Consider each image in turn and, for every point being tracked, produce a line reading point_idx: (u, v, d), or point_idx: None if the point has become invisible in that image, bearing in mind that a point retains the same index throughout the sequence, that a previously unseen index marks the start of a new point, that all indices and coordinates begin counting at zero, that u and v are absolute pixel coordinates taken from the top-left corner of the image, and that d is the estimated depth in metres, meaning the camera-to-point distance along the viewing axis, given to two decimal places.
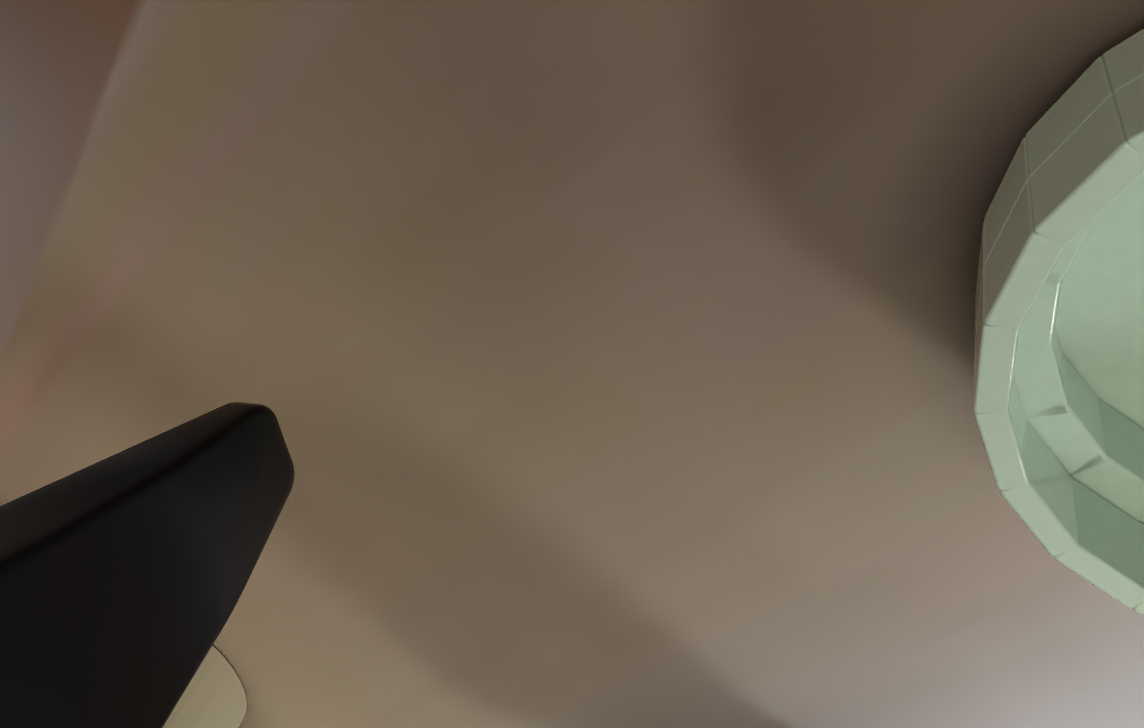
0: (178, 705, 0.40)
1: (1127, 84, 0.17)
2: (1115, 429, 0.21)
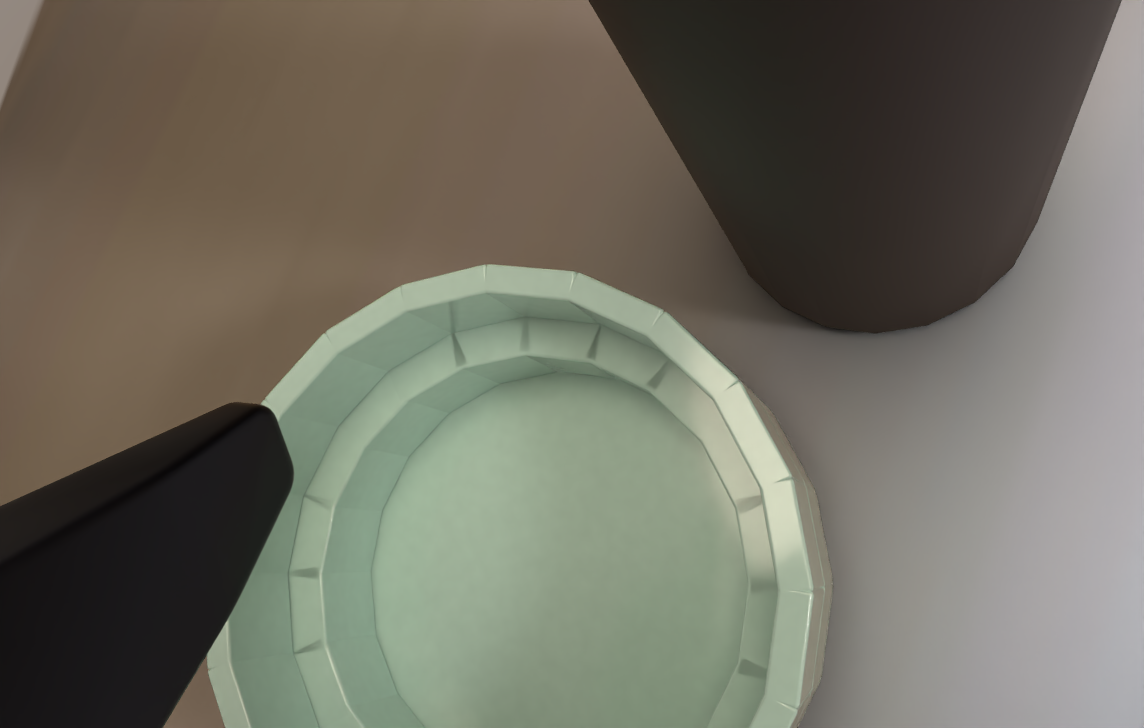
0: None
1: None
2: None
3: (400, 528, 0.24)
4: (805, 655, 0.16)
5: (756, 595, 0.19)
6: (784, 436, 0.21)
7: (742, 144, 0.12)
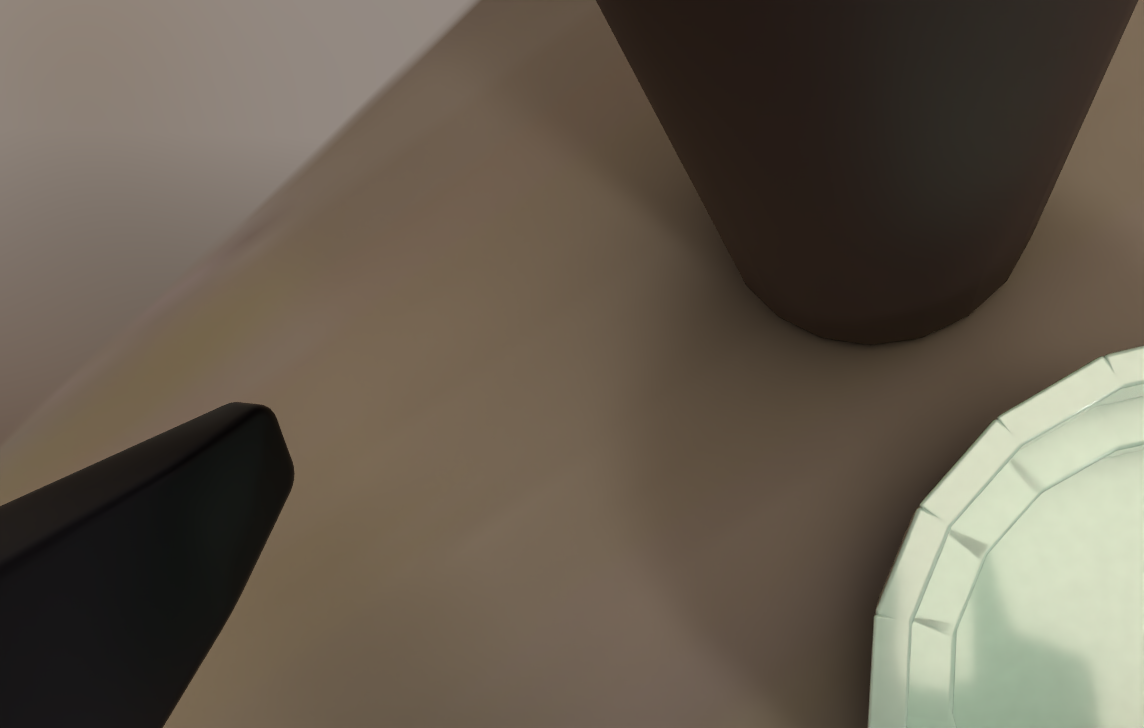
0: None
1: None
2: None
3: (1039, 530, 0.20)
4: None
5: None
6: None
7: (753, 163, 0.12)
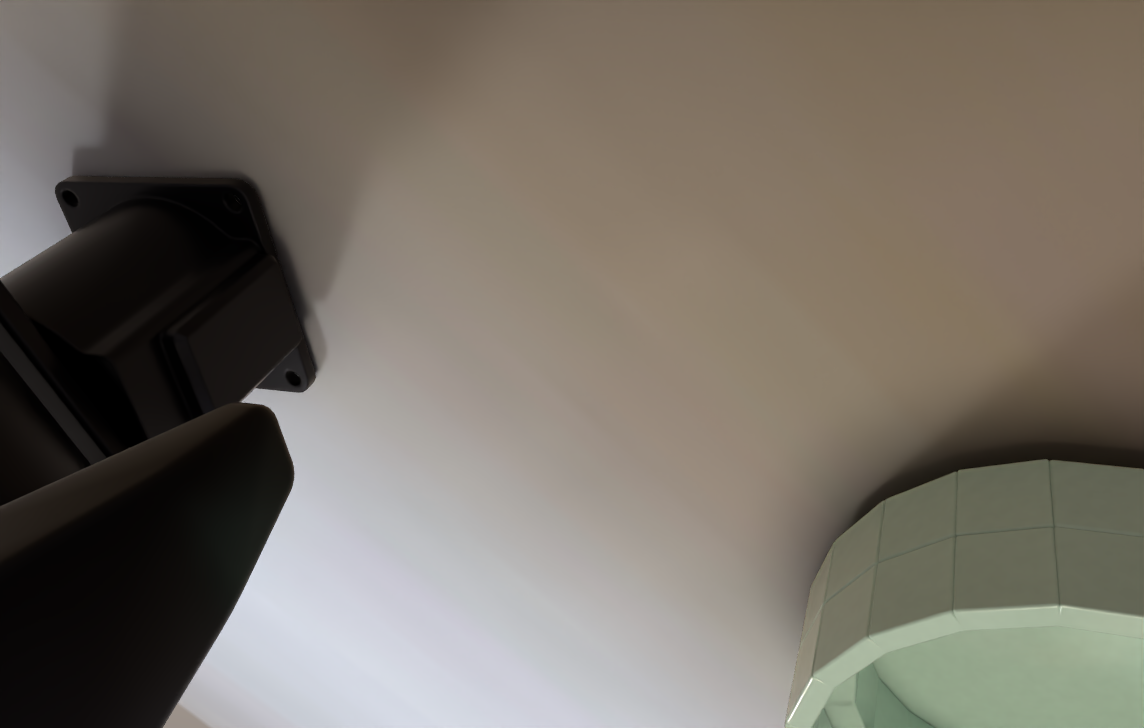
0: None
1: None
2: None
3: None
4: None
5: None
6: None
7: None
